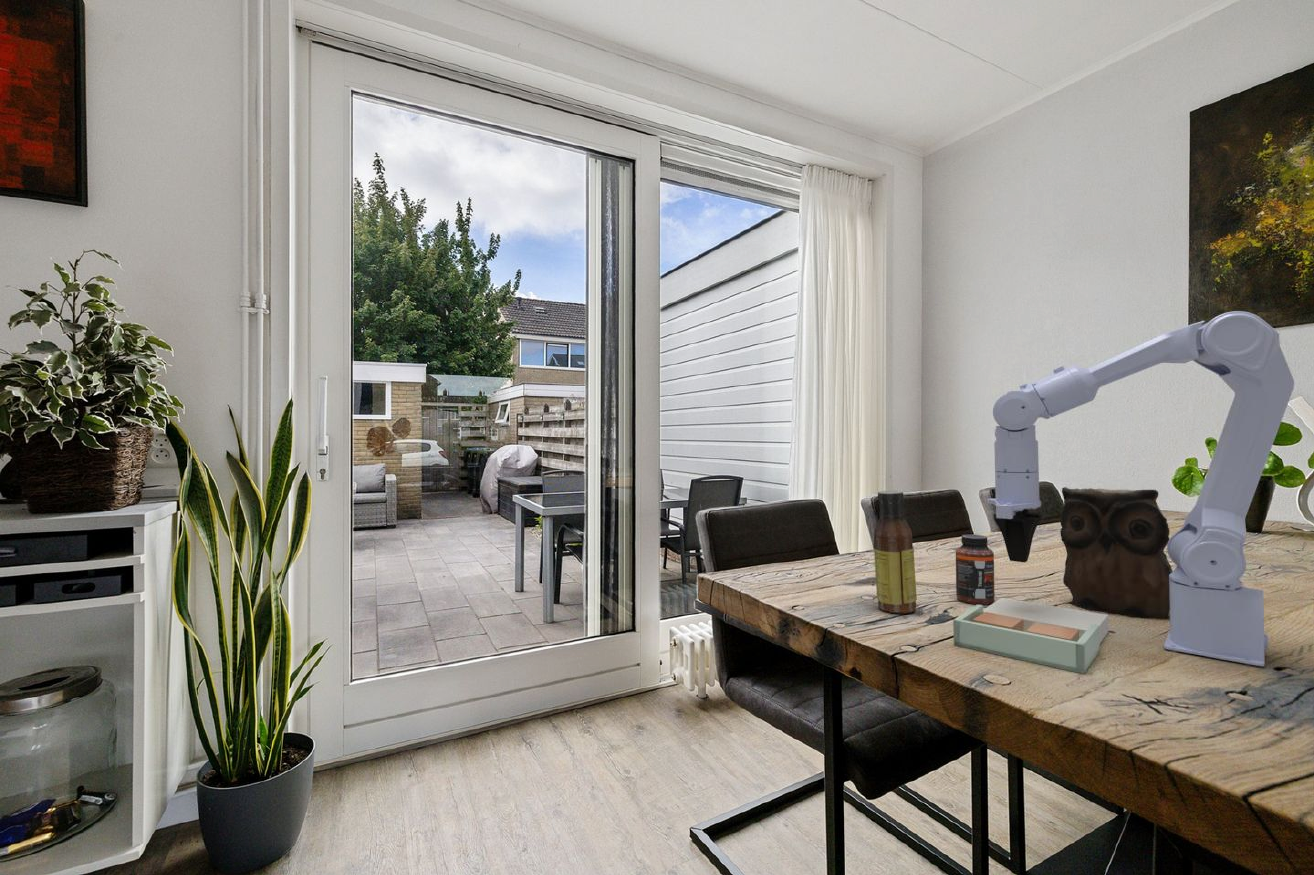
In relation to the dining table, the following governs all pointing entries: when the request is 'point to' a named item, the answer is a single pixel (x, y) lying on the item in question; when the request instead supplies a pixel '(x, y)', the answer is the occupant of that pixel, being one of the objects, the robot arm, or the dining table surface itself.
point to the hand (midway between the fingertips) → (1018, 560)
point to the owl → (1116, 552)
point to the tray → (1026, 643)
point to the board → (1050, 615)
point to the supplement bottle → (975, 570)
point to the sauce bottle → (894, 556)
